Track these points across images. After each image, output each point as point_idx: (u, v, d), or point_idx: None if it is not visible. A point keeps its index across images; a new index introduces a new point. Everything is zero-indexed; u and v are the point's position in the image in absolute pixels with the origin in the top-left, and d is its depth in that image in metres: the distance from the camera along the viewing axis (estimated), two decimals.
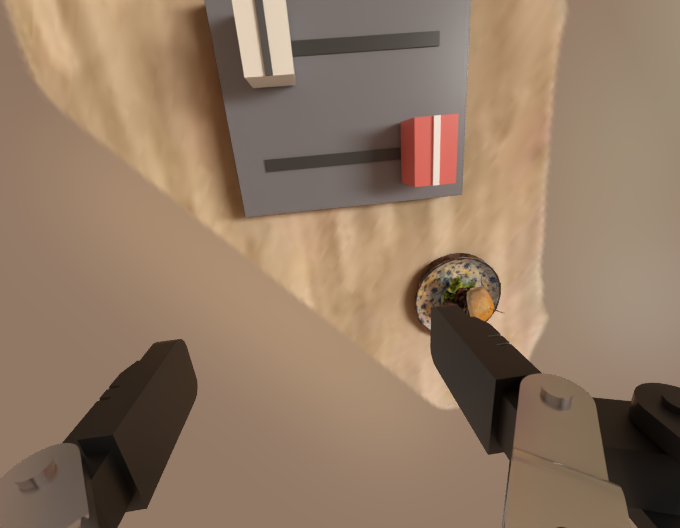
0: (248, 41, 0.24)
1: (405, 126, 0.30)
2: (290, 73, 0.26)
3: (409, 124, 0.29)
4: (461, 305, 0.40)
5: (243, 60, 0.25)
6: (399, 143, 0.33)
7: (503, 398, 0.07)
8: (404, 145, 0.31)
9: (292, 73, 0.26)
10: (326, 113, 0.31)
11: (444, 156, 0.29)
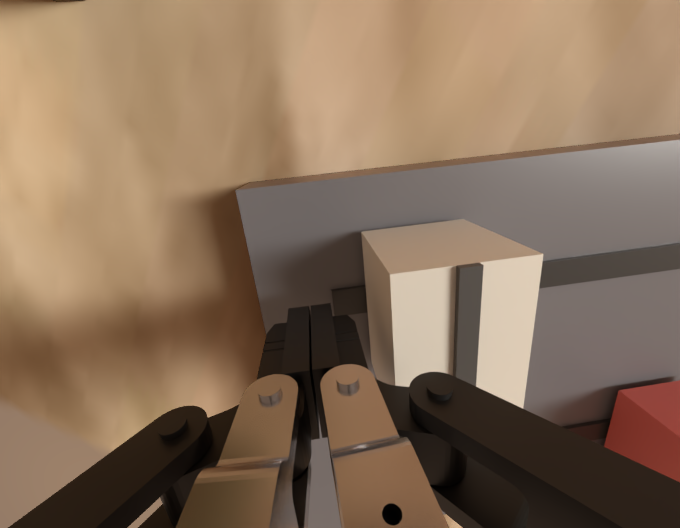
0: None
1: (649, 425, 0.15)
2: None
3: None
4: None
5: None
6: (604, 414, 0.17)
7: None
8: (632, 443, 0.16)
9: None
10: None
11: None
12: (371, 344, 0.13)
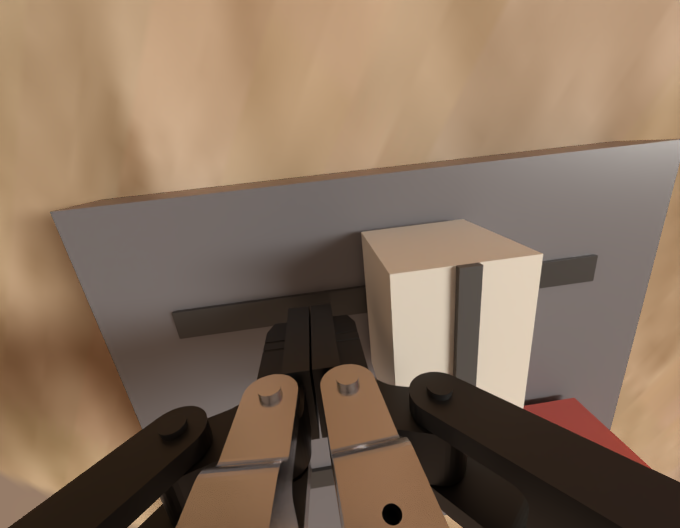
0: None
1: None
2: None
3: None
4: None
5: None
6: None
7: None
8: None
9: None
10: None
11: None
12: (371, 344, 0.13)
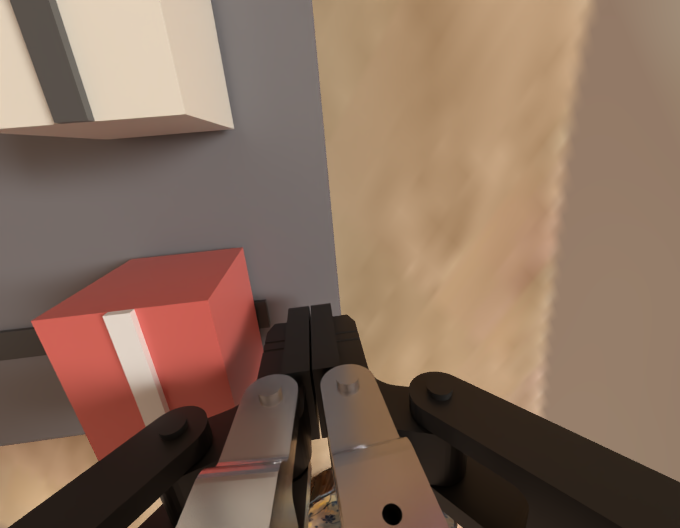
0: None
1: None
2: (170, 112, 0.06)
3: None
4: None
5: None
6: None
7: None
8: None
9: (179, 112, 0.06)
10: None
11: None
12: None
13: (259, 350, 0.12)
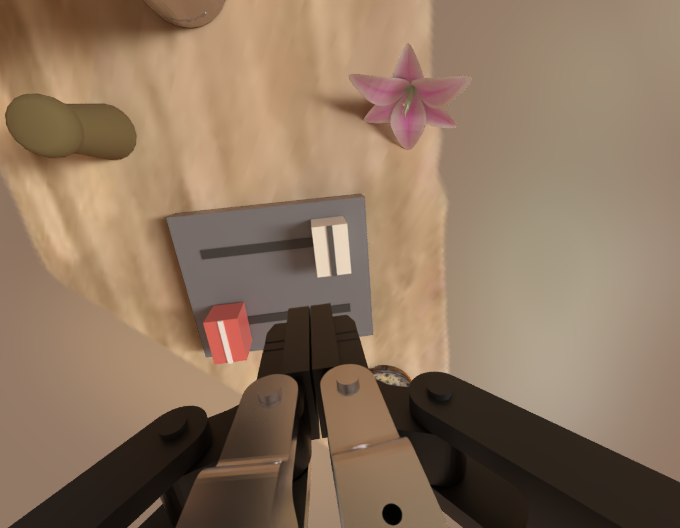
0: (322, 257, 0.36)
1: None
2: (348, 273, 0.37)
3: None
4: None
5: (317, 267, 0.36)
6: None
7: None
8: None
9: (350, 272, 0.37)
10: (263, 288, 0.42)
11: (233, 344, 0.39)
12: None
13: (249, 331, 0.42)
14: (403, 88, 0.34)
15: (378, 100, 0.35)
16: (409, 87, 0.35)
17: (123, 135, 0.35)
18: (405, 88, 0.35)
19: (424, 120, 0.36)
